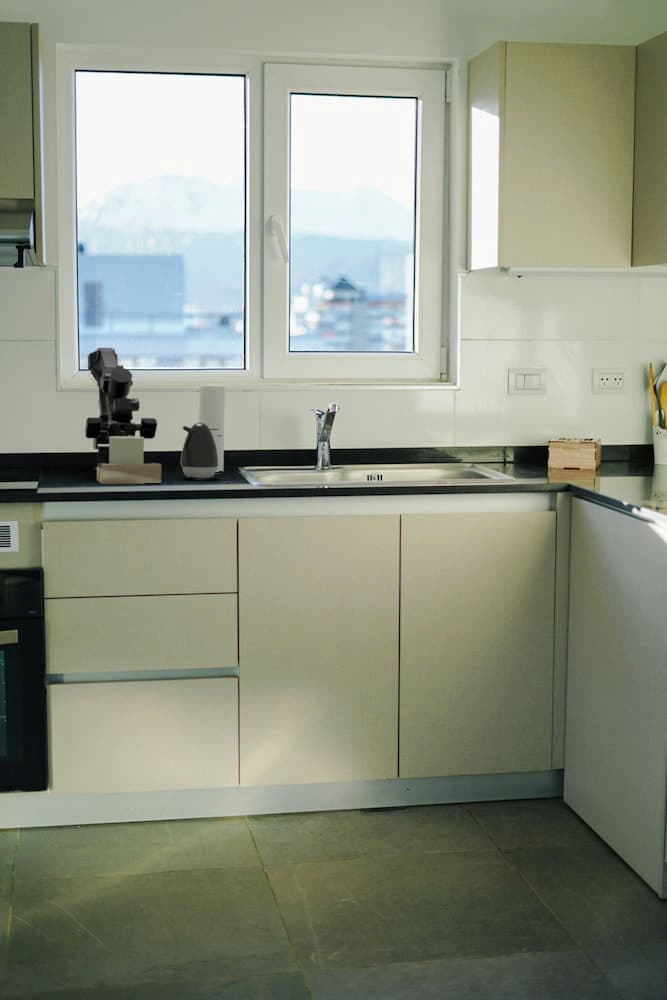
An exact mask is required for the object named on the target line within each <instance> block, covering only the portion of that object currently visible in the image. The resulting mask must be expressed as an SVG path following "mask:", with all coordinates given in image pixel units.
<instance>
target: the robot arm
mask: <svg viewBox="0 0 667 1000" xmlns="http://www.w3.org/2000/svg"><path fill="white" fill-rule="evenodd" d="M87 358H88V370H87V371H89V370H90V371H91V374H92V375H93V377H94V378H95V380H96V381H97V384H96V386H97V385H98V387H99V400H98V408H99V417H88V418H86V420H85V427H84V428H85V430H84V434H85V438H86V439H92V440H93V441H92V442H93V444H92V445H93V449H95V450H97V467H99V463H105V464H109V437H111V436H136V432H139V437H144V440H147V439H148V440H150V439H154V438H155V437H156V432H157V428H158V421H157V419H156V418H154V417H141V419H140V422H132V421H133V417H134V416H133V415H134V414H133V412H138V411H139V409H140V400H139V398H138V397H132V398H128V395H129V394H130V390H131V387H132V386H133V385H134V384H133V380H132V378H133V374H132V372H131V371H130V370H128V369H127V368H124V365H120V364H119V363H118V354H117V353H116V350H115V348H113V347H97V348H96V350H94V351H92V352H90V353H89V354H88V355H87ZM118 364H119V365H118ZM97 467H94V468H93V471H97Z"/></svg>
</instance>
